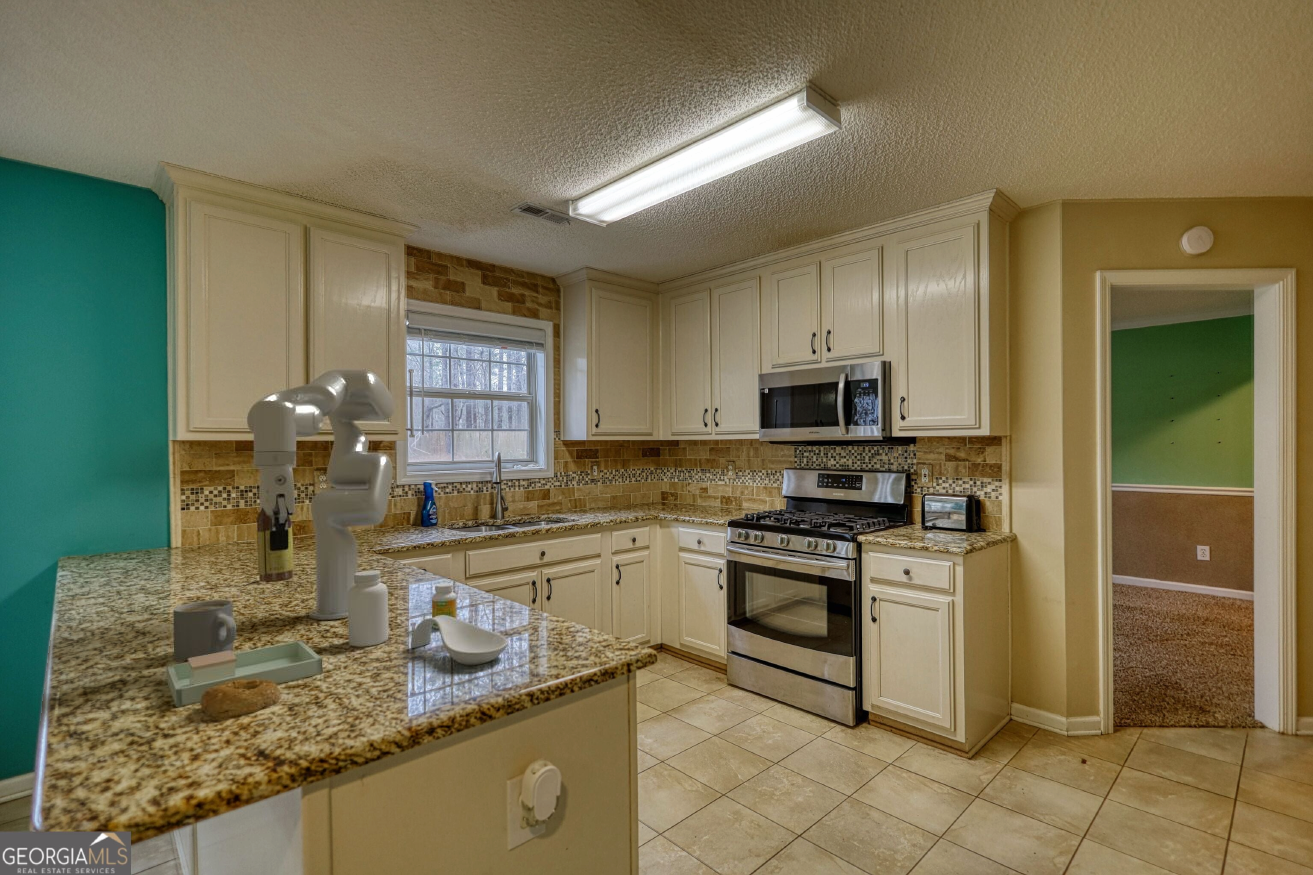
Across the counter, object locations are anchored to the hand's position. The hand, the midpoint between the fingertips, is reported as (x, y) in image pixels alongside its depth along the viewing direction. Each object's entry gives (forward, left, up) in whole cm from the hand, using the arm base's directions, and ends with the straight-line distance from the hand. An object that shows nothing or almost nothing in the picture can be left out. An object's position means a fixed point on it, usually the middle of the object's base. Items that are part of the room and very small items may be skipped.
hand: (275, 547), depth 131 cm
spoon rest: (-27, +26, -22) cm, 44 cm away
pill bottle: (-17, +4, -22) cm, 28 cm away
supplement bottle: (-34, +4, -22) cm, 40 cm away
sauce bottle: (0, 0, -7) cm, 7 cm away
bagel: (+10, +27, -22) cm, 36 cm away
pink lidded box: (+12, +12, -21) cm, 28 cm away
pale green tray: (+7, +12, -22) cm, 26 cm away
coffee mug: (+10, -10, -22) cm, 26 cm away
